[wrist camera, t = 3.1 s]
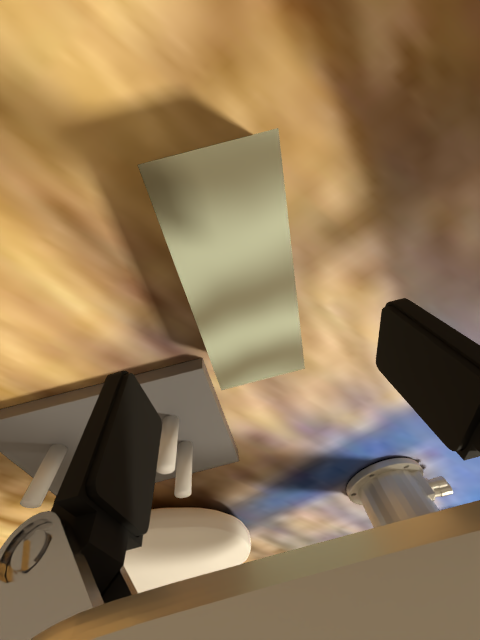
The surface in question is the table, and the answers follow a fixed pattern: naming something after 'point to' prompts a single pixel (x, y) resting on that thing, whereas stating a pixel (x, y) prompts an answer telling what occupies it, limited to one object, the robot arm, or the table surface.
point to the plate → (186, 546)
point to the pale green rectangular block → (233, 253)
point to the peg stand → (75, 410)
